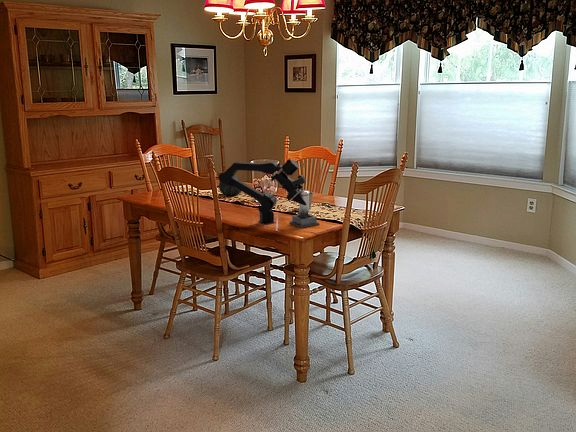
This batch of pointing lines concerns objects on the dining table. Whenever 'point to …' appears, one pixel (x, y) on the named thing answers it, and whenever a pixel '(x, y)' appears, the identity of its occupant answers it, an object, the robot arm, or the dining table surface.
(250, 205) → the dining table surface
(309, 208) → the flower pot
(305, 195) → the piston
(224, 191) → the squash
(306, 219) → the grey square tray
